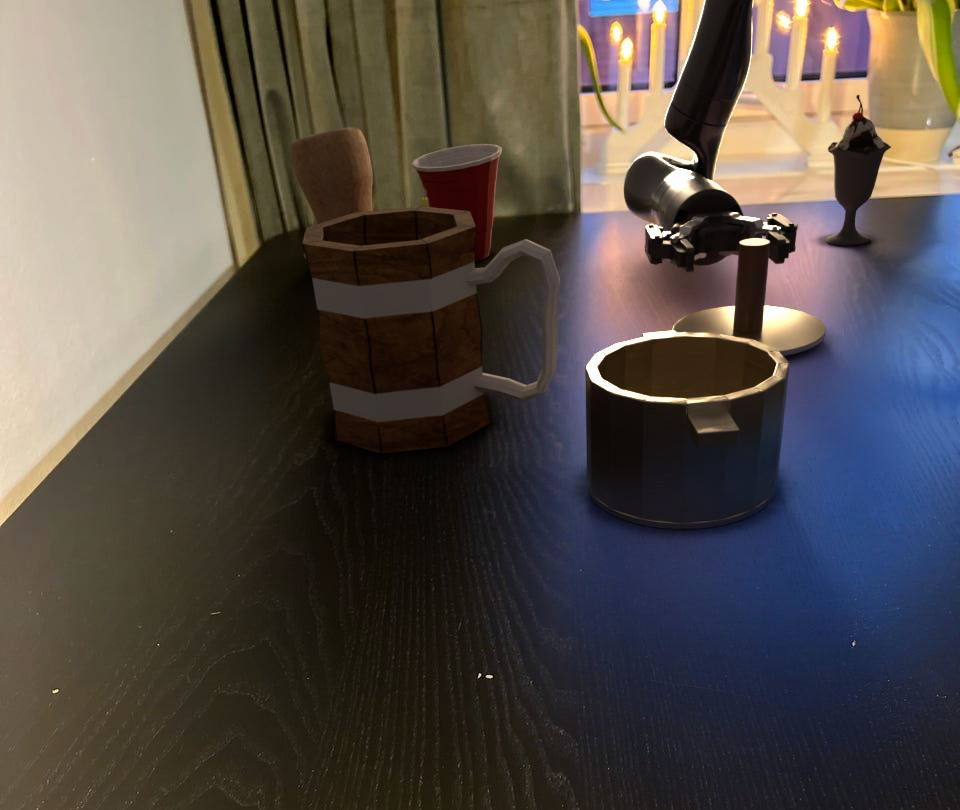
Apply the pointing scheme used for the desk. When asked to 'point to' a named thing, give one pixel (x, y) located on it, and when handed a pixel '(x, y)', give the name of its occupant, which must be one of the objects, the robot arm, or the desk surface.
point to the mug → (413, 325)
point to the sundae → (855, 173)
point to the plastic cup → (464, 185)
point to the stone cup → (334, 172)
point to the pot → (684, 428)
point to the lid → (756, 310)
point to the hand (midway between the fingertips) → (736, 256)
